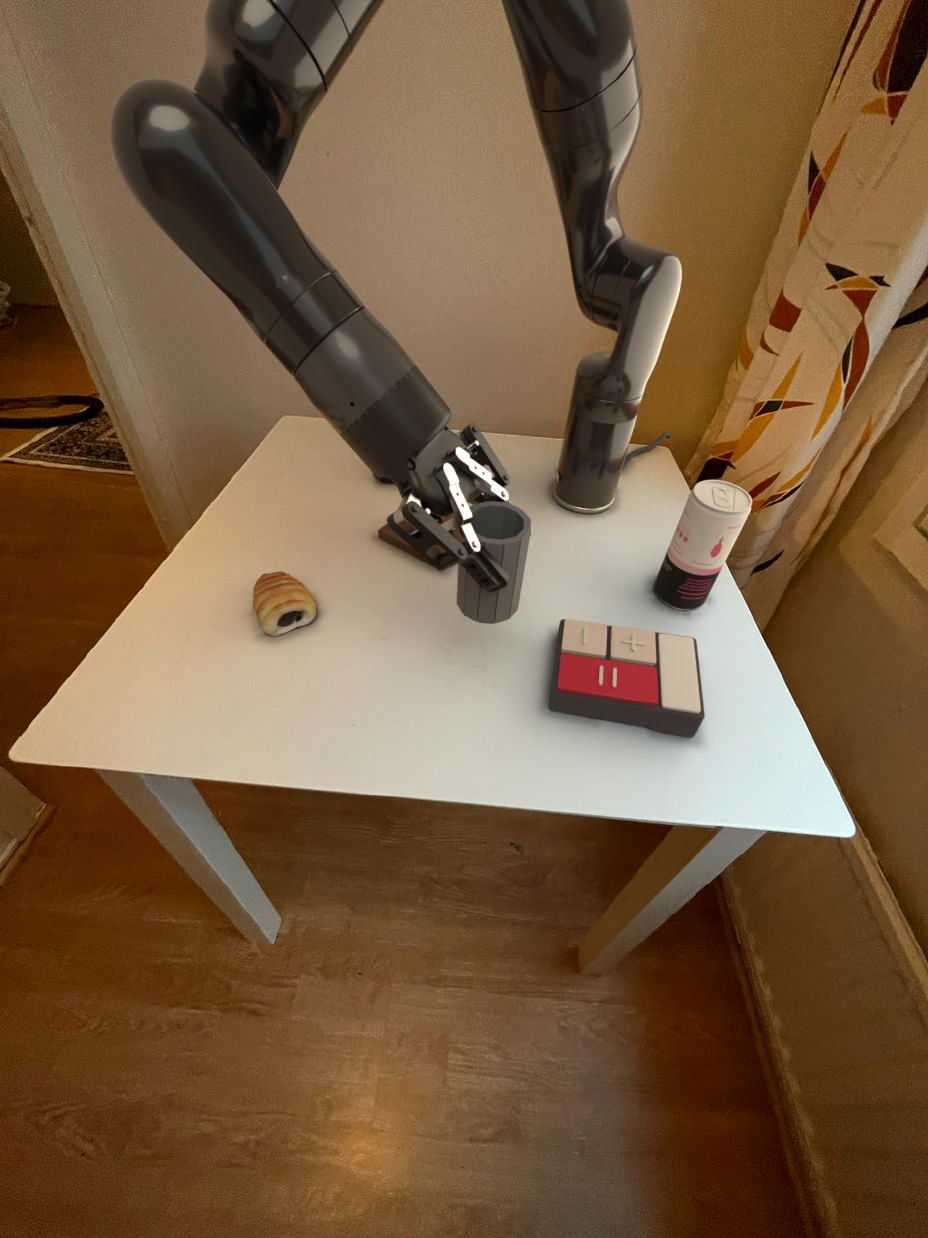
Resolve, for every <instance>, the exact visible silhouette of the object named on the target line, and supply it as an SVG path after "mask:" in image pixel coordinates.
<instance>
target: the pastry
mask: <svg viewBox="0 0 928 1238" xmlns="http://www.w3.org/2000/svg"><path fill="white" fill-rule="evenodd" d="M252 597H253V600H252V610H253V611H254V613H255V615H256V617H257V620H258V621H259V623H260V626H261V631H262V632H263V633H264V634H266V635H269V636H271V637H278V636H280V635H283V634H286V633H288V632H290V631H292V630H294V629H296V628H298V627H303V626H305V625H309V624H310V623H311V622H312V621H313V620H315V617H316V614H317V608H316V607H317V603H316V600H315V599H314V598H313V595H312V594H311V592H310V591H309V589H308V588H307V587H306V586H305V585H304V583H302V582H300V581H299V579H297V578H294V577H293V576H291V575H290V574H288V573H286V572H285V571H274V572H271V573H269V572H268V573H262V574H261V575H260V577H259V578H258V579H256V581H255V584H254V585H253V593H252Z"/></svg>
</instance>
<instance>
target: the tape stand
mask: <svg viewBox="0 0 928 1238" xmlns="http://www.w3.org/2000/svg"><path fill="white" fill-rule="evenodd" d="M453 516H454V513H453V514H451V515H450V516H448V517H441V519H442V521H443V522H446V521H448V520H449V519H451V518H453ZM453 534H454V536H455V538H456V540H457V541H458V542H460V533H459V531H458V529H455V530H454V532H453ZM377 536H378V539H379V540H381V541H383V542H384V543H386V544H388V545H390V546H393V547H394V548H396V549H398V550H400V551H402V552H403V553H406V554H407V555H409V556H412V557H414V558H415V559H417V560H419V561H421V562H423V563H425V564H427V565H429V566H431V567H433V568H434V569H437V568H436V567H434V566H433V565H432V564H431V563H430V562H429V561H428V560H426V559H425V558H424V557H423V556H422V555H421V554H419V553H418V552H417V551H416V550H415V549H414V548H413V547H411V546H410V545H409V544H408V543H407V542H406V541H405V540H403V539H402V538H401V537H400V536H399V535H398V534H397V533H395V532H394V531H393V530H392V529H391V528H390V527H389V526H388V524H387V523H385V524H384V525H382V526H381V527H380V528H378V529H377ZM434 546H435V547H436V548H438V549H439V550H440V551H441V552H442V553H443V552H445V550H444V549H443V548H441V547H440V546H439V545H434Z"/></svg>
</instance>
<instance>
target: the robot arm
mask: <svg viewBox="0 0 928 1238" xmlns="http://www.w3.org/2000/svg"><path fill="white" fill-rule="evenodd" d="M500 1H501V5H502V9H503V11H504V15H505V18H506V22H507V26H508V28H509V32H510V35H511V39H512V42H513V45H514V48H515V52H516V55H517V59H518V64H519V67H520V71H521V75H522V79H523V84H524V88H525V93H526V96H527V99H528V104H529V108H530V110H531V114H532V115H531V116H532V118H533V121H534V125H535V128H536V132H537V135H538V138H539V142H540V145H541V149H542V151H543V155H544V159H545V160H546V164H547V167H548V172H549V174H550V175H549V176H550V179H551V183H552V186H553V191H554V194H555V195H554V196H555V198H556V202H557V207H558V210H559V214H560V218H561V222H562V226H563V230H564V235H565V242H566V246H567V247H566V248H567V254H568V259H569V265H570V271H571V278H572V285H573V290H574V294H575V298H576V303H577V305H578V309H579V310H580V312H581V314H582V315H583V316H584V317H585V318H586V319H587V320H588V321H589V322H591V323H593V324H594V325H596V326H599V327H601V328H604V329H605V330H609V331H611V332H613V333H616V334H617V335H616V339H615V342H614V344H613V348H612V350H603V351H596V352H592V353H589V354H587V355H584V356H582V358H581V359H580V360H579V361H578V363H577V365H576V370H575V374H574V378H573V379H574V380H573V383H572V384H573V385H572V390H571V395H570V399H569V406H568V412H567V417H566V422H565V426H564V432H563V437H562V444H561V448H560V454H559V460H558V464H557V467H555V469H554V475H555V480H554V484H553V487H552V497H553V498H554V500H555V501H556V502H557V503H558V504H559V506H560V505H561V507H563V508H565V509H567V510H570V511H573V512H575V513H581V514H599V513H603V512H605V511H607V510H609V509H610V508H611V507H612V505H614V501H615V496H616V491H617V489H618V484H619V482H620V477H621V474H622V472H623V470H625V468H626V467H627V466H628V464H629V462H630V461H631V460H632V458H634V457H635V456H638V455H639V454H642V453H645V452H648V451H650V450H652V449H655V448H656V447H658V446H659V445H660V444H661V443H663V441H664V440H665V439H672V434H671V433H670V431H665V432H663V433H662V434H661V435H660V436H659V437H658V438H657V439H656V440H654V442H652V443H650V444H648V445H644V446H642V447H638V448H636V449H634V450H633V451H630V452H629V453H628V449H629V445H630V443H631V439H632V436H633V431H634V429H635V424H636V421H637V417H638V413H639V410H640V407H641V404H642V400H643V396H644V393H645V389H646V386H647V383H648V381H649V378H650V376H651V374H652V373H653V371H654V368H655V367H656V364H657V362H658V359H659V357H660V353H661V350H662V347H663V344H664V341H665V338H666V335H667V332H668V330H669V326H670V324H671V320H672V318H673V314H674V312H675V309H676V307H677V303H678V300H679V297H680V292H681V287H682V282H683V264H682V261H681V259H680V258H679V256H678V255H677V254H676V253H674V252H672V251H670V250H668V249H665V248H661V247H657V246H654V245H650V244H646V243H643V242H640V241H637V240H634V239H631V238H629V236H628V235H627V234H626V232H625V229H624V227H623V223H622V221H621V220H622V219H621V214H620V208H619V198H618V190H619V186H620V183H621V180H622V178H623V176H624V173H625V171H626V168H627V166H628V164H629V161H630V159H631V156H632V154H633V151H634V148H635V145H636V143H637V139H638V136H639V133H640V129H641V126H642V120H643V112H644V111H643V109H644V108H643V107H644V97H643V96H644V95H643V84H642V83H643V82H642V75H641V68H640V58H639V51H638V43H637V34H636V33H637V32H636V27H635V22H634V18H633V14H632V10H631V6H630V3H629V0H500ZM385 2H386V0H207V2H206V4H205V7H204V11H203V17H202V31H203V40H204V59H203V63H202V66H201V68H200V71H199V74H198V76H197V78H196V81H195V83H194V85H193V88H191V87H190V86H188V85H185V84H183V83H181V82H178V81H176V80H172V79H168V78H164V77H146V78H142V79H138V80H135V81H133V82H132V83H130V84H129V85H127V86H126V87H125V88H124V89H123V90H122V91H121V92H120V94H119V95H118V96H117V98H116V100H115V101H114V103H113V106H112V110H111V112H110V118H109V144H110V149H111V154H112V159H113V163H114V165H115V167H116V170H117V172H118V175H119V177H120V179H121V180H122V183H123V184H124V186H125V188H126V190H127V191H128V192H129V194H130V195H131V198H133V200H134V201H135V203H137V205H138V206H139V207H140V208H141V209H142V211H143V212H144V213H145V214H146V215H147V216H148V217H149V218H150V219H151V220H152V221H153V222H154V223H155V224H156V226H158V228H159V229H160V230H161V231H162V232H163V233H164V234H165V235H166V236H167V237H168V239H170V240H171V241H172V243H174V244H175V246H176V247H177V248H178V249H179V250H180V251H181V252H182V253H183V254H184V255H185V256H186V257H187V259H188V260H190V261H191V262H192V263H193V264H194V265H195V266H196V268H197V269H199V270H200V271H201V273H203V275H205V276H206V277H207V278H208V279H209V281H211V283H213V284H214V286H215V287H216V288H217V289H218V290H219V291H221V293H223V295H224V296H225V297H226V298H227V299H228V300H229V301H230V302H231V303H232V304H233V306H234V307H235V308H236V309H237V311H238V312H239V314H240V315H241V316H242V318H243V319H244V321H245V322H246V323H247V324H248V326H249V327H250V328H251V330H252V332H254V334H255V335H256V337H258V339H259V340H260V342H261V343H262V344H263V345H264V346H265V347H266V348H267V349H268V351H269V352H270V353H271V354H272V355H273V356H274V358H275V359H277V361H278V362H279V364H280V365H282V367H283V368H284V369H285V370H286V371H287V372H288V373H289V374H290V375H291V377H293V378H294V380H295V381H296V383H297V384H298V385H299V386H300V388H301V389H302V391H303V392H304V393H305V395H306V397H307V398H308V399H309V401H310V403H311V404H312V405H313V406H314V408H315V409H316V410H317V411H318V412H319V413H320V415H321V416H322V417H323V418H324V419H325V420H326V422H328V424H329V425H330V426H331V427H332V428H333V430H335V432H336V433H337V434H338V435H339V436H340V437H341V438H342V440H343V441H344V442H345V443H346V445H348V446H349V448H350V450H352V451H353V452H354V453H355V455H356V456H357V457H358V458H359V459H360V460H361V461H362V462H363V463H364V465H365V466H366V467H367V468H368V469H369V470H370V471H371V472H372V474H373V473H374V475H375V476H377V477H379V478H385V477H386V478H389V479H391V480H392V481H393V482H394V483H395V484H394V485H395V487H396V488H397V490H398V493H399V495H400V497H401V499H402V500H401V501H400V504H399V506H398V508H397V509H396V510H395V511H393V512H392V513H391V514H389V515H388V516H387V517H386V524H388V526H389V527H390V528H391V529H392V530H393V531H394V532H395V533H397V534H398V535H399V536H400V537H401V538H402V539H403V540H405V541H406V542H407V543H408V544H409V545H410V546H411V547H413V548H414V549H415V550H416V551H417V552H418V553H419V554H421V555H422V556H423V557H424V558H425V559H426V560H428V561H429V562H430V563H431V564H432V565H433V566H434V567H433V566H432V567H433V568H435V567H436V568H435V569H437V570H438V571H440V572H444V571H446V570H447V569H450V568H451V567H454V566H455V565H458V564H460V565H461V566H463V567H464V569H465V570H466V571H467V572H468V573H469V574H470V575H471V577H472V578H473V579H475V581H476V582H477V583H478V585H479V586H480V587H481V588H482V589H484V590H485V591H488V592H495V591H497V590H500V589H502V588H504V587H506V586H507V584H508V582H509V580H510V577H509V575H508V574H507V573H506V572H505V571H504V569H503V568H502V567H501V566H500V565H499V563H498V562H497V561H496V560H495V559H494V558H493V556H492V555H491V554H490V553H489V552H488V550H486V549H485V547H484V546H482V547H481V545H480V542H479V540H478V538H477V536H476V534H475V531H474V529H473V527H472V525H471V520H472V517H473V516H472V513H471V510H470V508H469V507H470V506H469V504H471V505H474V504H478V503H482V502H486V501H489V502H490V501H495V502H506V504H507V503H509V504H511V503H510V502H509V498H510V495H509V492H508V491H507V486H508V485H510V484H511V482H512V480H511V477H510V474H509V473H508V472H507V469H506V468H505V467H504V465H503V464H502V462H501V461H500V459H499V458H498V456H497V454H496V453H495V451H494V450H493V448H492V447H491V446H490V443H488V441H487V439H486V438H485V436H484V435H483V433H482V431H481V430H480V428H479V427H478V426H477V425H476V423H474V422H470V423H469V424H468V425H466V426H465V427H463V428H461V429H460V430H459V431H458V432H456V433H455V432H454V431H452V430H451V429H450V428H449V427H448V426H447V425H448V424H449V423H450V420H451V418H452V410H451V408H450V406H448V404H447V403H446V402H445V400H444V399H443V398H442V396H441V395H440V394H439V393H438V391H437V390H436V389H435V388H434V386H433V385H432V384H431V382H430V381H429V379H428V378H427V377H426V376H425V374H424V373H423V372H422V371H421V369H420V368H419V367H418V366H417V364H416V363H415V362H414V361H413V359H412V358H411V357H410V356H409V354H408V352H407V351H406V350H405V349H404V348H403V346H402V345H401V344H400V342H399V341H398V340H397V339H396V338H395V336H393V334H392V333H391V332H390V331H389V330H388V329H387V328H386V326H384V324H382V323H381V322H380V320H378V319H377V317H375V316H374V314H373V313H372V312H371V311H370V310H369V309H368V308H367V307H366V305H365V304H364V303H363V302H362V300H361V299H360V298H359V296H358V295H357V294H356V292H355V291H354V289H352V287H351V286H350V285H349V284H348V282H347V281H346V279H344V277H343V276H342V275H341V273H340V272H339V270H338V269H337V268H336V267H335V266H334V265H333V263H332V262H331V261H330V259H328V258H327V256H326V255H324V253H323V252H322V251H321V250H320V249H319V248H318V246H317V245H316V244H315V243H314V242H313V241H312V240H311V238H310V237H309V236H308V235H307V234H306V232H305V231H304V230H303V228H302V226H301V225H300V224H299V222H298V221H297V219H296V217H295V216H294V214H293V213H292V211H291V210H290V209H291V208H289V206H288V205H287V203H286V202H285V200H284V199H283V198H282V196H281V194H280V193H279V189H280V186H281V184H282V182H283V180H284V177H285V175H286V173H287V171H288V169H289V166H290V164H291V161H292V159H293V157H294V155H295V151H296V149H297V146H298V144H299V141H300V139H301V136H302V134H303V132H304V130H305V127H306V125H307V124H308V121H309V120H310V118H311V117H312V115H313V114H314V113H315V111H316V110H317V109H318V107H319V106H320V105H321V103H322V102H323V101H324V99H325V98H326V96H327V94H328V92H329V91H330V89H331V87H332V86H333V84H334V83H335V81H336V80H337V78H338V76H339V75H340V73H341V72H342V70H343V68H344V67H345V65H346V64H347V62H348V61H349V59H350V58H351V56H352V54H353V53H354V52H355V49H356V48H357V46H358V45H359V43H360V41H361V40H362V38H363V36H365V33H366V31H367V30H368V28H369V27H370V25H371V23H372V22H373V21H374V19H375V17H376V16H377V14H378V12H380V9H382V6H383V5H384V4H385ZM627 453H628V454H627ZM484 466H488V468H489V470H490V471H489V470H488V469H486V468H485V467H484ZM374 475H373V476H374ZM453 513H454V516H453V518H451V519H449V520H448V521H446V522H443V521H442V519H441V517H448V516H450V515H451V514H453ZM455 529H458V531H459V533H460V535H461V538H462V540H463V542H462V543H460V542H458V541H457V540H456V538H455V536H454V534H453V532H454V530H455ZM531 536H532V532H531V533H530V537H531ZM434 545H439V546H440V547H441V548H443V549H444V550H445V552H443V553H442V552H441V551H440V550H439V549H438V548H436V547H435V546H434Z"/></svg>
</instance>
